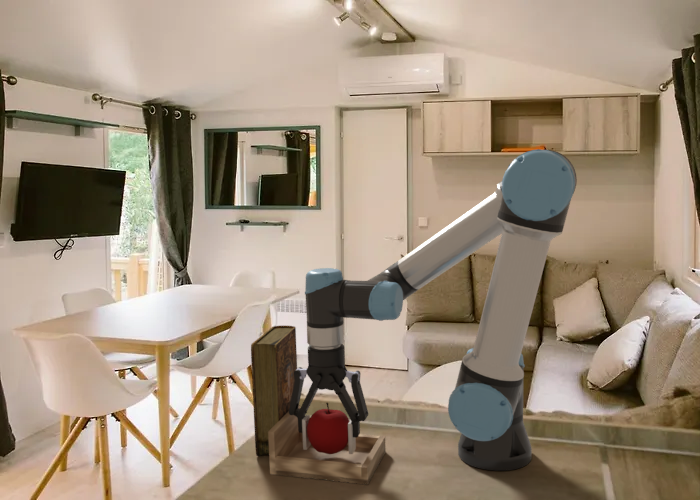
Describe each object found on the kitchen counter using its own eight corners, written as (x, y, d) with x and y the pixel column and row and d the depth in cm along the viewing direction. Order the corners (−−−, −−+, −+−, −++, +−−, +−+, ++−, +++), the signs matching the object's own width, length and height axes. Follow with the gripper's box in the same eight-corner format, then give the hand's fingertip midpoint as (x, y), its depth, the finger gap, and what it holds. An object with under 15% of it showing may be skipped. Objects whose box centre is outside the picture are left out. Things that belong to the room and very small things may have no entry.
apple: (300, 456, 143) (298, 409, 141) (317, 439, 151) (316, 394, 150) (342, 461, 140) (340, 414, 138) (357, 444, 148) (356, 398, 147)
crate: (385, 451, 150) (384, 411, 149) (367, 484, 136) (366, 440, 134) (296, 443, 156) (295, 404, 155) (270, 474, 141) (268, 431, 140)
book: (278, 428, 165) (274, 325, 161) (301, 429, 164) (297, 325, 160) (255, 458, 149) (250, 344, 145) (280, 459, 148) (275, 345, 144)
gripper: (382, 342, 143) (384, 446, 146) (282, 337, 149) (286, 437, 152) (373, 352, 136) (376, 461, 139) (268, 346, 142) (273, 451, 145)
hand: (329, 449), depth 145 cm, fingers closed on apple, 9 cm apart
